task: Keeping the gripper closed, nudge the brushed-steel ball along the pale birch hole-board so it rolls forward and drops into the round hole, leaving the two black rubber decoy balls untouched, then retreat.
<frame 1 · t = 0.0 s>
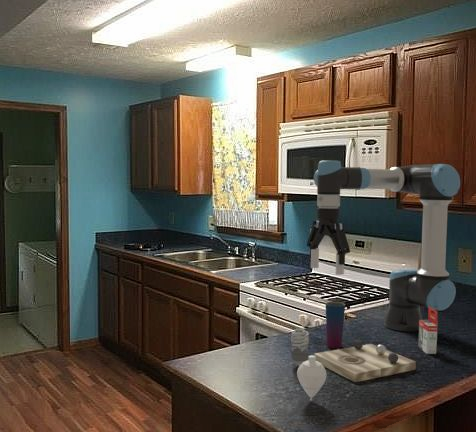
hand: (326, 271, 178), 28 cm above the counter, fingers open, 13 cm apart
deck: (363, 365, 169), on the counter
black rubber ball A: (393, 357, 164), point 4 cm above the counter, touching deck
black rubber ball B: (358, 344, 177), point 4 cm above the counter, touching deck
steel ball: (380, 349, 172), point 4 cm above the counter, touching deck
ink box: (427, 351, 184), on the counter
light bulb: (299, 367, 167), on the counter
spinning top: (311, 401, 141), on the counter
cup: (334, 346, 188), on the counter
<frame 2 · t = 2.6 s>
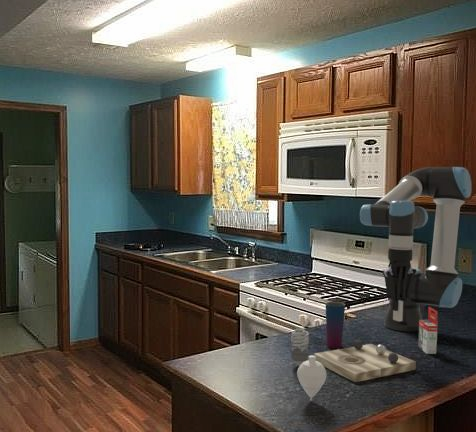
hand: (397, 320, 174), 13 cm above the counter, fingers closed
nothing on the counter moved.
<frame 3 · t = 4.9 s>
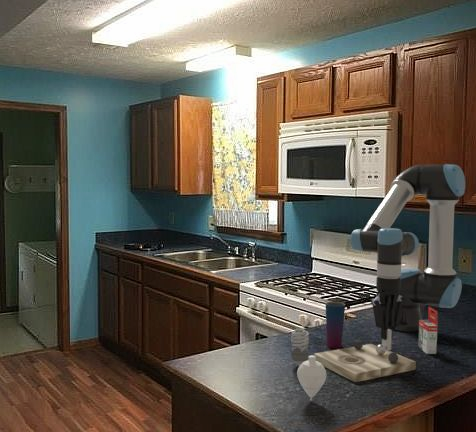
hand: (386, 348, 173), 4 cm above the counter, fingers closed
steel ball: (380, 349, 172), point 4 cm above the counter, touching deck, gripper
everything else where it was.
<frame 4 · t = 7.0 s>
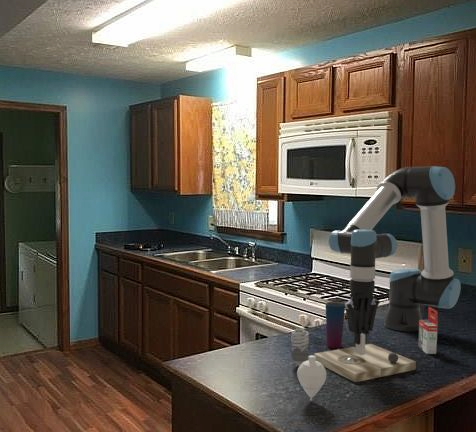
hand: (360, 353, 168), 4 cm above the counter, fingers closed
steel ball: (349, 363, 166), point 2 cm above the counter, tilted 91°
everything else where it was.
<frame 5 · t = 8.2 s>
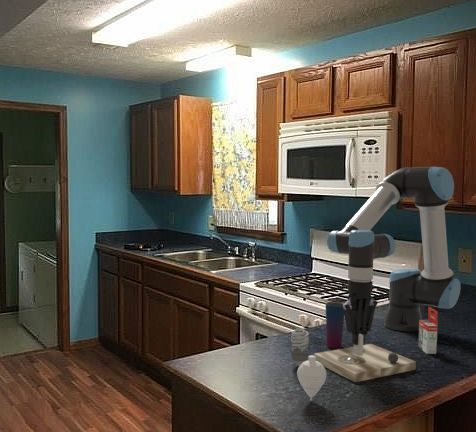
hand: (358, 354, 167), 4 cm above the counter, fingers closed
nothing on the counter moved.
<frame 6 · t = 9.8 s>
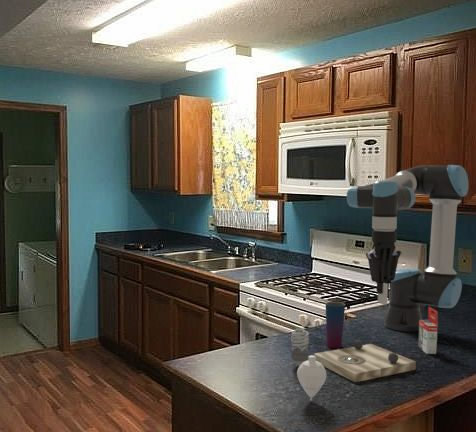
hand: (382, 303, 171), 19 cm above the counter, fingers closed
nothing on the counter moved.
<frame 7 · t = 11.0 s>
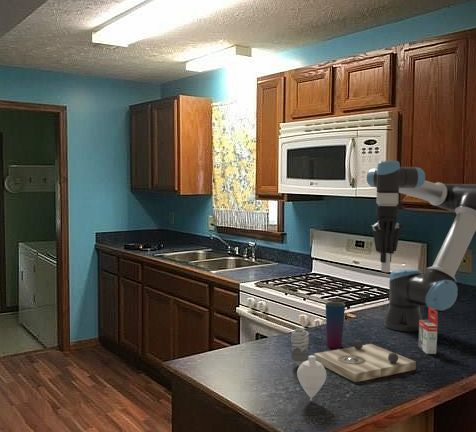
hand: (385, 271, 189), 26 cm above the counter, fingers closed
nothing on the counter moved.
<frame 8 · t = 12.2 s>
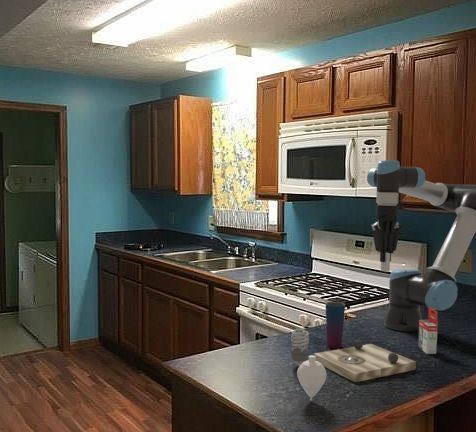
hand: (385, 271, 189), 26 cm above the counter, fingers closed
nothing on the counter moved.
at the end: steel ball 0.3 cm from the target spot in the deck, point 1.6 cm above the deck's base; black rubber ball A moved 0.0 cm from its start; black rubber ball B moved 0.0 cm from its start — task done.
